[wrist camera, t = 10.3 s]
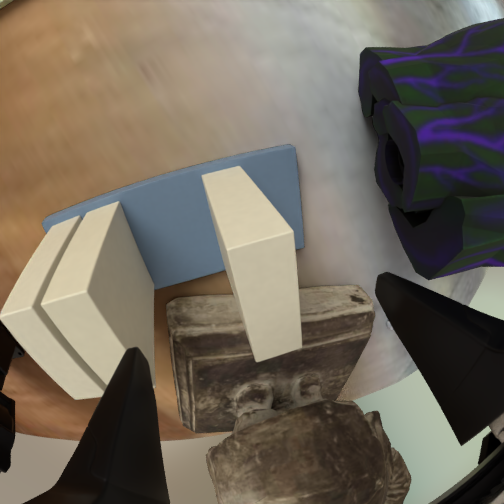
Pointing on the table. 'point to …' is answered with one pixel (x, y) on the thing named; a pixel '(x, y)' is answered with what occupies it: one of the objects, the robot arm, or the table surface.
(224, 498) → the sculpture
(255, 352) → the white box
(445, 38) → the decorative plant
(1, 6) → the green base board
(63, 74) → the table surface
